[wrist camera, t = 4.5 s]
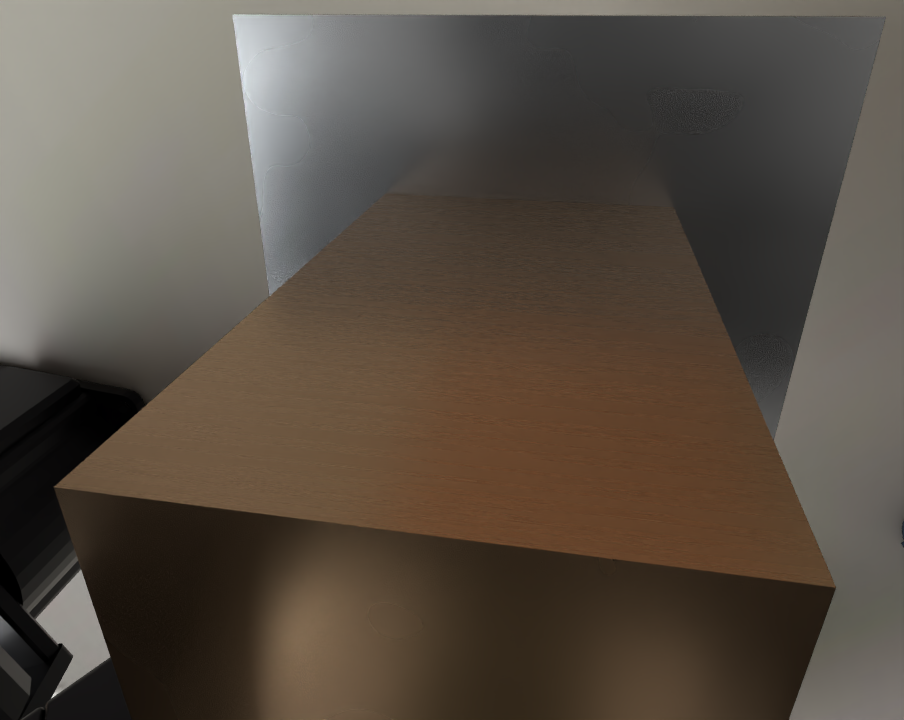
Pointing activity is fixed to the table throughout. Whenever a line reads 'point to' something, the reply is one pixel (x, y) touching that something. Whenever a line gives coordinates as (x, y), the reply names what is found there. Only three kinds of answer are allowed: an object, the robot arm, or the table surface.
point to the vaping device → (903, 533)
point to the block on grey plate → (493, 381)
